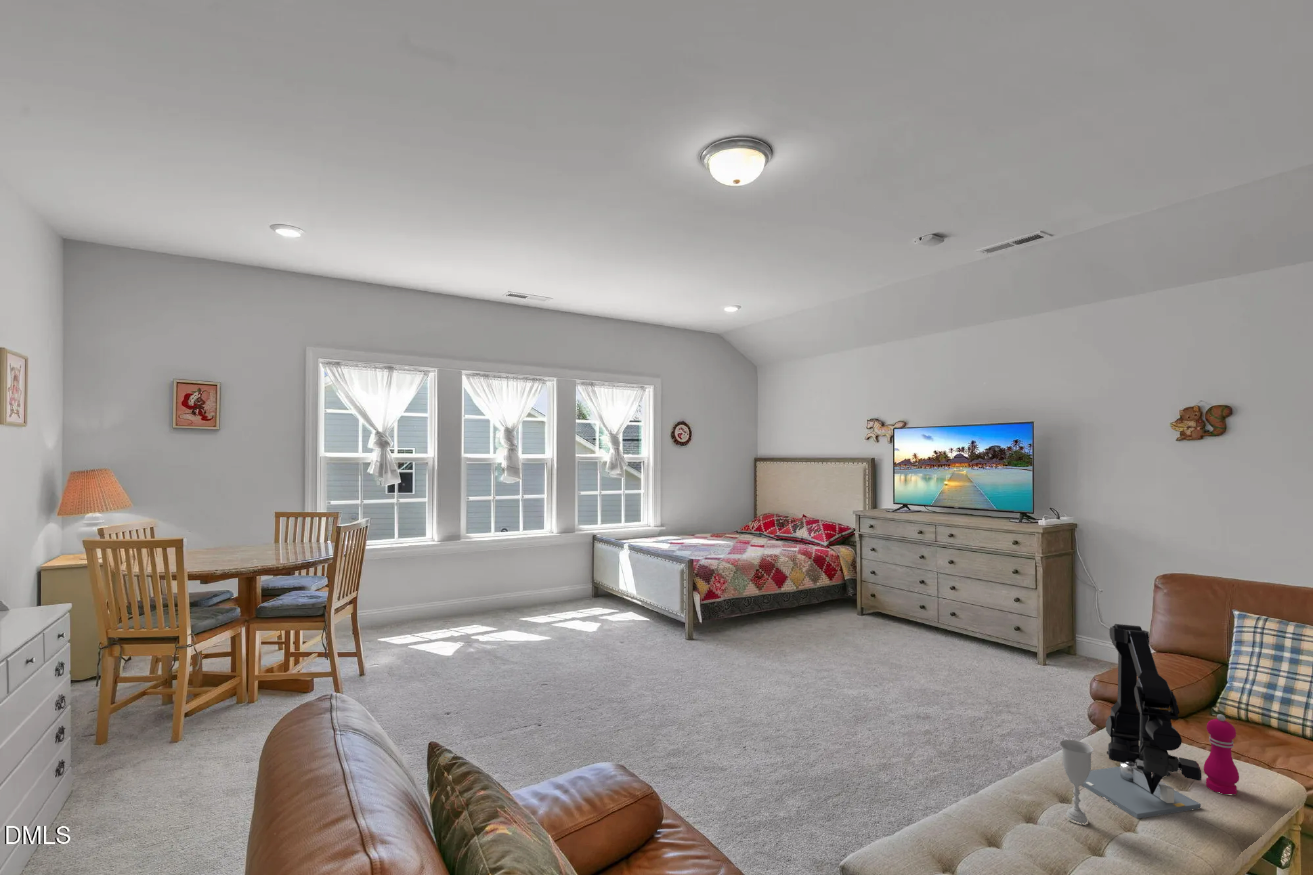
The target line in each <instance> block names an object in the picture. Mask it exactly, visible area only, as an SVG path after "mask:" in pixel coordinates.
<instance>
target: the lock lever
mask: <svg viewBox="0 0 1313 875" xmlns="http://www.w3.org/2000/svg"><path fill="white" fill-rule="evenodd" d="M1119 767H1120V776H1121V777H1122V778H1124V779H1126V780H1129V781H1133V782H1135V783H1136V784H1138V785H1139V786H1141V787H1143V788H1144V789H1146V790H1147V791H1149V792H1150V789H1149V786H1148V783H1147V780H1146V777H1145V775H1144V773H1143V772H1142V770H1139V769H1137V767H1136V762H1132V761H1127V762H1125V763H1121V762H1119ZM1151 776H1152V774H1151ZM1174 790H1175V788H1174V787H1172V786H1170V785H1169V784H1166V783H1165V782H1163V781H1162V780H1161V781H1160V782H1159V784H1158V786H1157V788H1156V790H1155V792H1154V795H1155V796H1157V797H1159V798H1160V799H1161V800H1163V801H1164V802H1166V803H1174Z"/></svg>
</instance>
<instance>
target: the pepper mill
mask: <svg viewBox="0 0 1313 875" xmlns="http://www.w3.org/2000/svg"><path fill="white" fill-rule="evenodd" d="M1206 731H1207V732H1208V734H1209V735H1208V742H1209V743H1210V745H1211V746H1210V753H1209V755H1208V756H1207V758H1206V760H1205V761H1204V764H1203V772H1204V774H1205V775H1206V776H1207V777H1206V778H1205V786H1206V787H1207V789H1209V790H1211V791H1212V790H1213V791H1212V792H1215V793H1217V792H1220V793H1222V794H1221V795H1224V794H1235V795H1237V794H1238V786H1237V785H1236V784H1237V783H1238V782H1239V781H1240V773H1239V771H1238V768H1237V766H1236V764H1235V762H1234V760H1233V757H1232V749H1233V748H1234V739H1235V738H1236V737H1237V730H1236V728H1235V726H1234V725H1233V724H1232V723H1230V722H1229V721H1227V720H1226V717H1225V715H1223V714H1217V715H1216V718H1213V719H1210V720H1208V722H1207V723H1206ZM1220 793H1219V794H1220ZM1236 793H1237V794H1236Z"/></svg>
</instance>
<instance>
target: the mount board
mask: <svg viewBox="0 0 1313 875" xmlns="http://www.w3.org/2000/svg"><path fill="white" fill-rule="evenodd" d="M1081 786H1082V787H1083V788H1085V789H1087V790H1089V791H1090V792H1092V793H1093V794H1096V795H1097V794H1098V795H1097V796H1098V797H1100V796H1102V797H1105V798H1106V799H1108V800H1109V801H1111V802H1112V803H1114V804H1115V805H1117V806H1118V807H1117V806H1116V807H1117V808H1119V809H1120V810H1122V811H1124V812H1125V813H1127V814H1129V815H1131V816H1132V817H1133V818H1135V819H1138V820H1139V819H1143V818H1149V817H1150V818H1151V817H1156V816H1161V815H1169V814H1174V813H1175V814H1176V813H1181V812H1182V813H1183V812H1187V811H1188V810H1189V811H1193V810H1192V809H1195V810H1199V809H1198V808H1200V807H1201V806H1202V804H1201V803H1199V802H1198V801H1196V800H1194V799H1193V798H1190V797H1188V796H1187V795H1185V794H1182V793H1180V791H1177V790H1175V789H1174V803H1166V802H1164V801H1163V800H1161V799H1160V798H1159V797H1157V796H1155V795H1154V794H1151V792H1149V791H1147V790H1146V789H1144V788H1143V787H1141V786H1139V785H1138V784H1136V783H1135V782H1133V781H1129V780H1126V779H1124V778H1122V777H1121V776H1120V766H1113V767H1107V768H1098V769H1091V770H1090V773H1089V775H1088V777H1087V779H1086V781H1085V782H1084V784H1083V785H1081ZM1102 797H1101V798H1102ZM1109 801H1108V802H1109ZM1112 803H1111V804H1112ZM1114 804H1113V805H1114ZM1115 805H1114V806H1115ZM1201 808H1202V807H1201Z"/></svg>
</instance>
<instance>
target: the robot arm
mask: <svg viewBox="0 0 1313 875" xmlns="http://www.w3.org/2000/svg"><path fill="white" fill-rule="evenodd" d="M1109 637H1110V640H1111V643H1112V645H1113V647H1114V648H1115V650H1116V651H1117V652H1118V653H1117V661H1118V662H1117V700H1116V702H1115V703H1114V704H1113V705H1112V706H1111V708H1110V714H1109V715H1108V717H1107V719H1106V722H1105V731H1106V733H1107V735H1108V736H1109V737H1110V742H1109V743H1108V746H1107V747H1108V748H1107V751H1106V754H1107V755H1108V759H1109V760H1111V761H1115V762H1119V763H1120V762H1121V763H1125V762H1127V761H1132V762H1134V763H1136V767H1137V769H1139V770H1142V772H1143V773H1144V775H1145V777H1146V780H1147V783H1148V786H1149V789H1150V792H1151V794H1154V792H1155V790H1156V788H1157V786H1158V784H1159V782H1160V781H1162V779H1163V778H1165V777H1171V776H1172V775H1171V773H1175V772H1176V773H1178V771H1180V774H1181V775H1182V776H1184V778H1186V779H1191V780H1194V781H1198V782H1201V781H1202V769H1201V767H1200V764H1199V763H1198V762H1197V760H1193V759H1188V758H1183V757H1180V756H1175V755H1171V754H1169V752H1168V751H1175V750H1178V749H1179V748H1180V747H1181V745H1182V741H1183V740H1182V736H1181V735H1180V733H1179V732H1178V730H1177V729H1176V728H1175V727H1174V726H1173V724H1172V720H1179V714H1180V709H1179V706H1178V701H1177V697H1176V696H1175V694H1174V692H1173V690H1171V689H1170V686H1169V684H1168V681H1167V680H1166V679H1165V678H1164V677H1162V676H1161V675H1160V674H1159V671H1158V669H1157V666H1156V663H1155V662H1156V661H1155V659H1154V657H1153V652H1152V650H1151V647H1150V631H1148V630H1143V629H1142V627H1141V626H1140V625H1132V624H1123V623H1122V624H1121V623H1114V624H1113V625H1112V626H1111V627H1110V628H1109ZM1168 709H1170V710H1168ZM1151 775H1152V776H1151Z"/></svg>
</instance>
